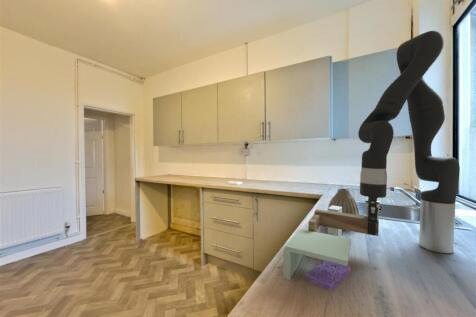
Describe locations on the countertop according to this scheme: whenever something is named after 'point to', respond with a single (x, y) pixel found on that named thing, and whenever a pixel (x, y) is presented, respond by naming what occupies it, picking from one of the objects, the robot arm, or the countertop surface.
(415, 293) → the countertop surface
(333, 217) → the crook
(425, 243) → the robot arm
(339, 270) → the sponges
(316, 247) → the wall shelf
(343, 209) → the vase
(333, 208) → the skincare box
